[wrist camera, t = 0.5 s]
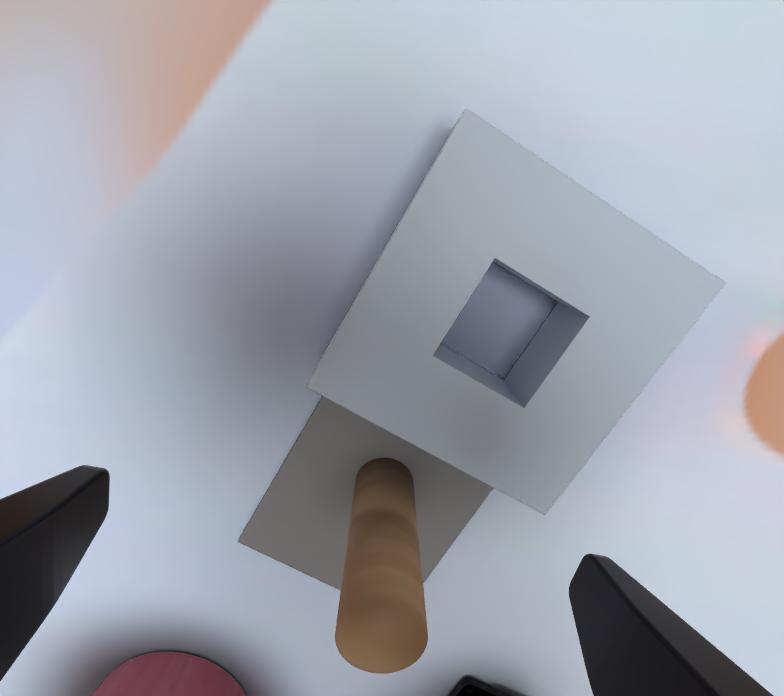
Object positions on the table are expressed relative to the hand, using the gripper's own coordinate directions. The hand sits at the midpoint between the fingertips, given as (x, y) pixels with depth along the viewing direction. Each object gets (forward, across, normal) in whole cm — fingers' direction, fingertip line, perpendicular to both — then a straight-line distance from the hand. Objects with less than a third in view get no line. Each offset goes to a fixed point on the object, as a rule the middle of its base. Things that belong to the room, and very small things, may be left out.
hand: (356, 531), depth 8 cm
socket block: (+14, -6, -1) cm, 15 cm away
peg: (+13, -3, +8) cm, 15 cm away
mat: (+13, -3, +8) cm, 16 cm away
